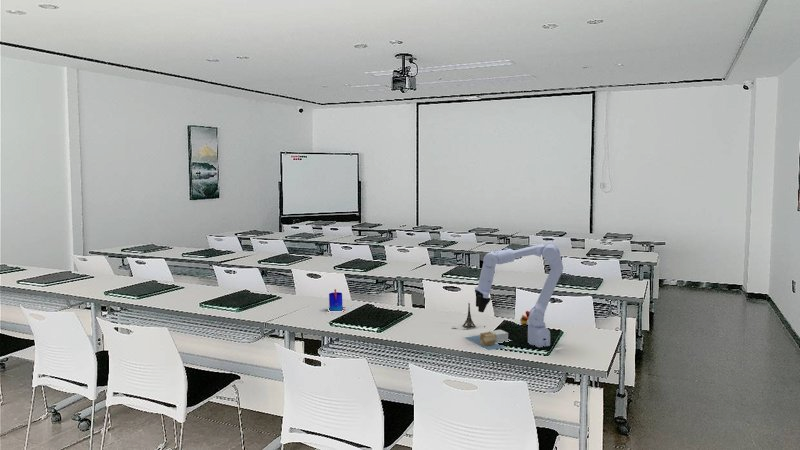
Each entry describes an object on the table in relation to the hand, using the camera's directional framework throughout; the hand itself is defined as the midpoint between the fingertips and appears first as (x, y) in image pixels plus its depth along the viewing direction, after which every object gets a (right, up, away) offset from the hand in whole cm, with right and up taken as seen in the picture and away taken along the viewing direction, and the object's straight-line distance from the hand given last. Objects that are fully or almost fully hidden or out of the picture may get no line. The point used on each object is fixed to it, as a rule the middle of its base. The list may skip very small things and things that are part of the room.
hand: (479, 309), depth 250 cm
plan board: (+5, -15, -2) cm, 16 cm away
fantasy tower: (-70, -10, +62) cm, 94 cm away
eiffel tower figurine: (-2, -13, +25) cm, 28 cm away
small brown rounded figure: (+29, -12, +27) cm, 41 cm away
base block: (+8, -13, 0) cm, 16 cm away
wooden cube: (+3, -14, -6) cm, 15 cm away
